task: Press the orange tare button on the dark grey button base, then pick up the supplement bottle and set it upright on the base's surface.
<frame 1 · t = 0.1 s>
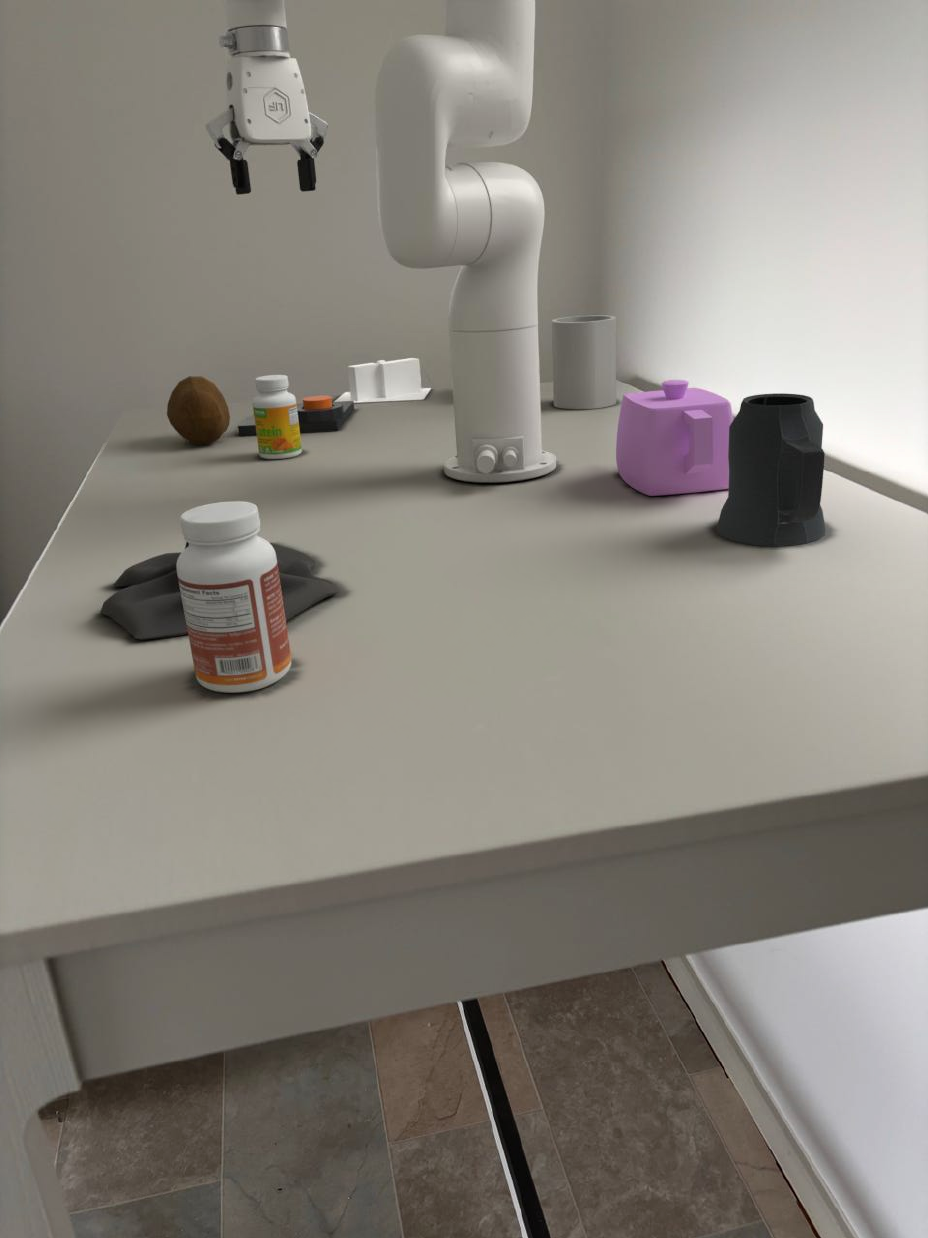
hand: (276, 192, 137), 31 cm above the table, tool pointing down, fingers open, 9 cm apart
tare button: (317, 403, 144), point 3 cm above the table, slide at 0.1 cm
supplement bottle: (281, 456, 129), on the table
potato: (202, 442, 141), on the table
pill bottle: (245, 678, 66), on the table
teapot: (672, 481, 106), on the table
mug: (776, 536, 87), on the table
dark grey button base: (299, 422, 150), on the table
cup: (585, 404, 150), on the table
napkin holder: (383, 396, 168), on the table
cloth: (223, 591, 83), on the table
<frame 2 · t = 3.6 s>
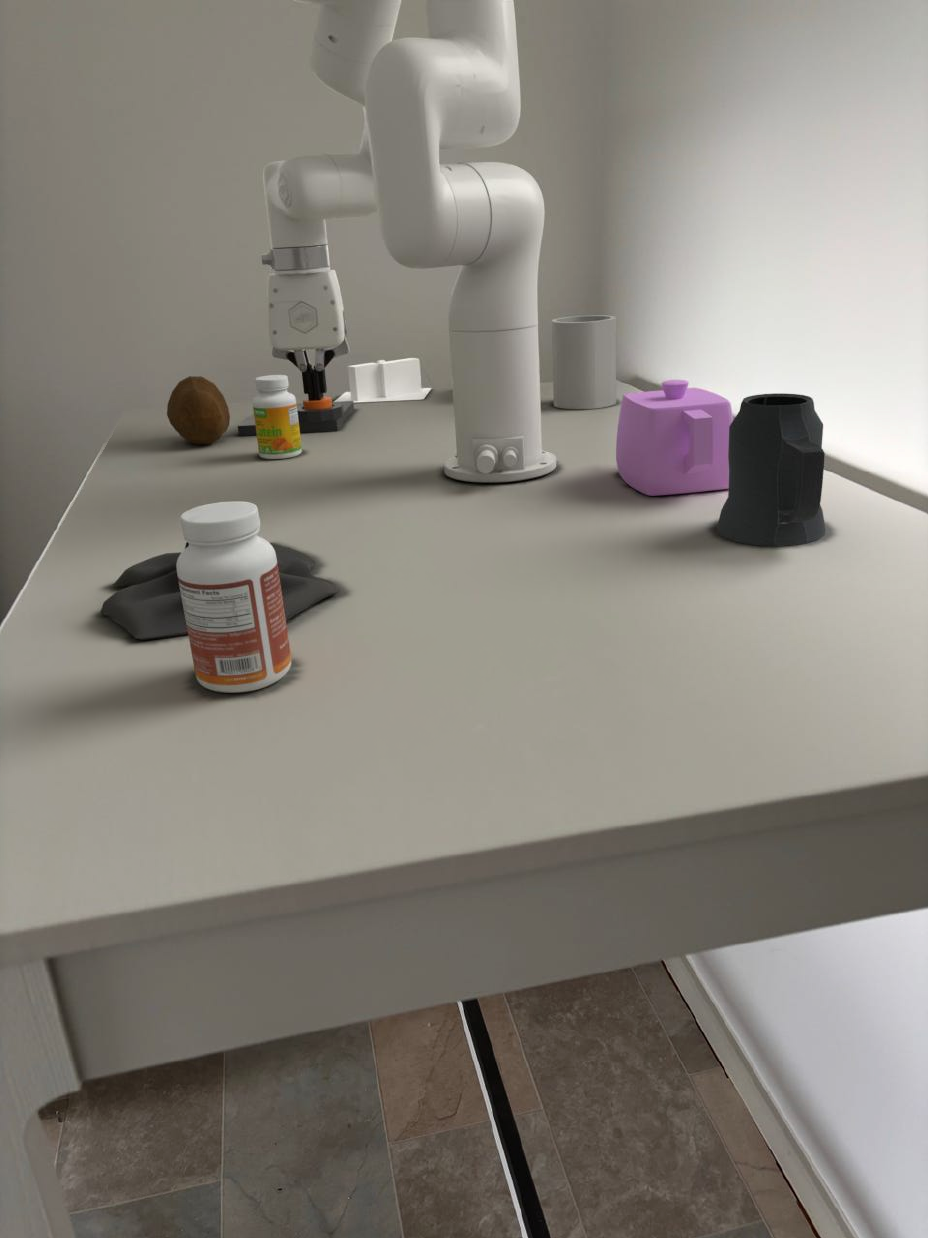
hand: (316, 398, 144), 4 cm above the table, tool pointing down, fingers closed
tare button: (317, 404, 144), point 3 cm above the table, slide at 0.0 cm, touching gripper
everything else where it was.
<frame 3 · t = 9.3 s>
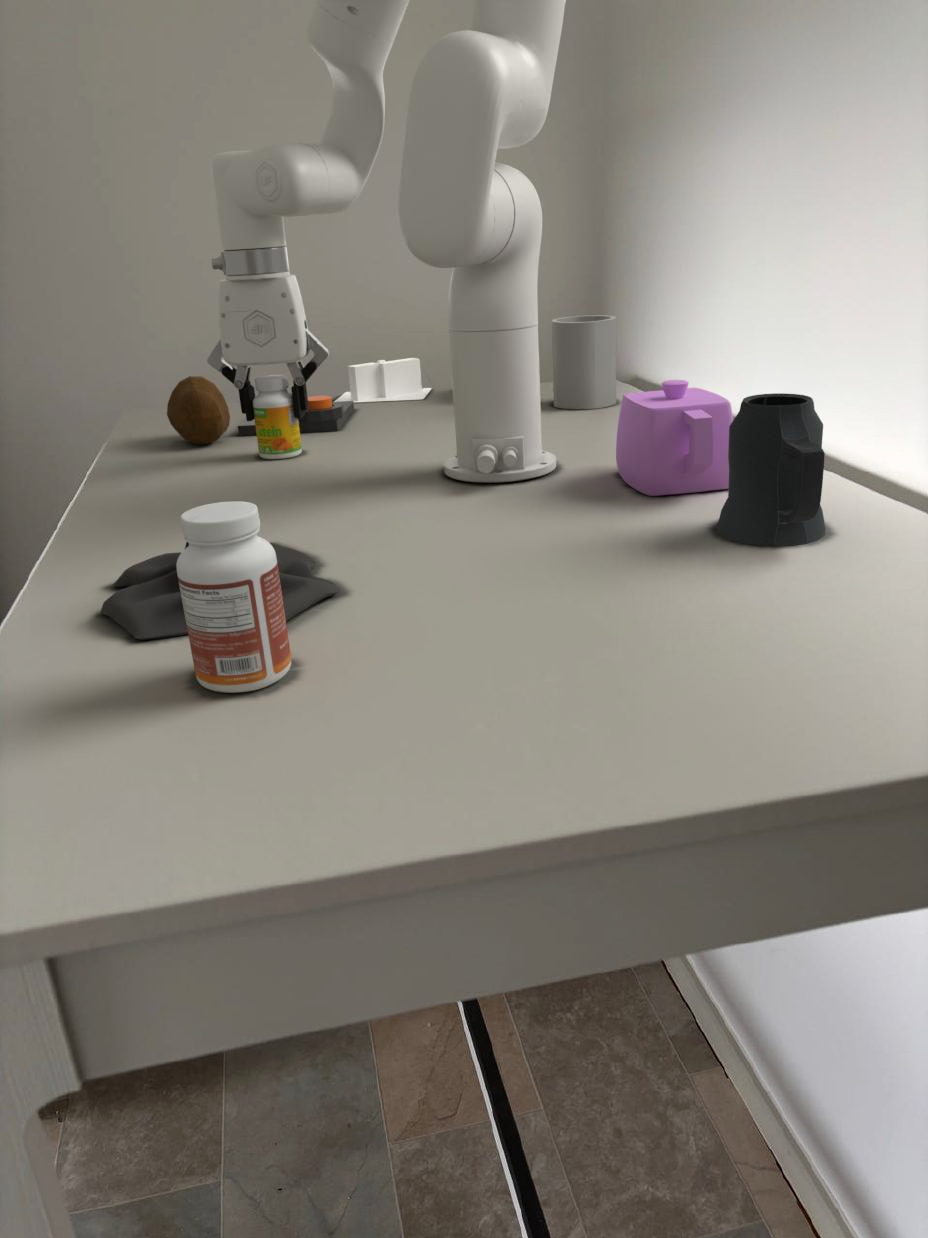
hand: (276, 416, 127), 5 cm above the table, tool pointing down, fingers closed on supplement bottle, 5 cm apart
tare button: (317, 403, 144), point 3 cm above the table, slide at 0.1 cm
supplement bottle: (281, 456, 129), on the table, touching gripper
everything else where it was.
when the fingers open (6 cm above the table, at t = 16.6 s): supplement bottle stays where it is, resting on dark grey button base.
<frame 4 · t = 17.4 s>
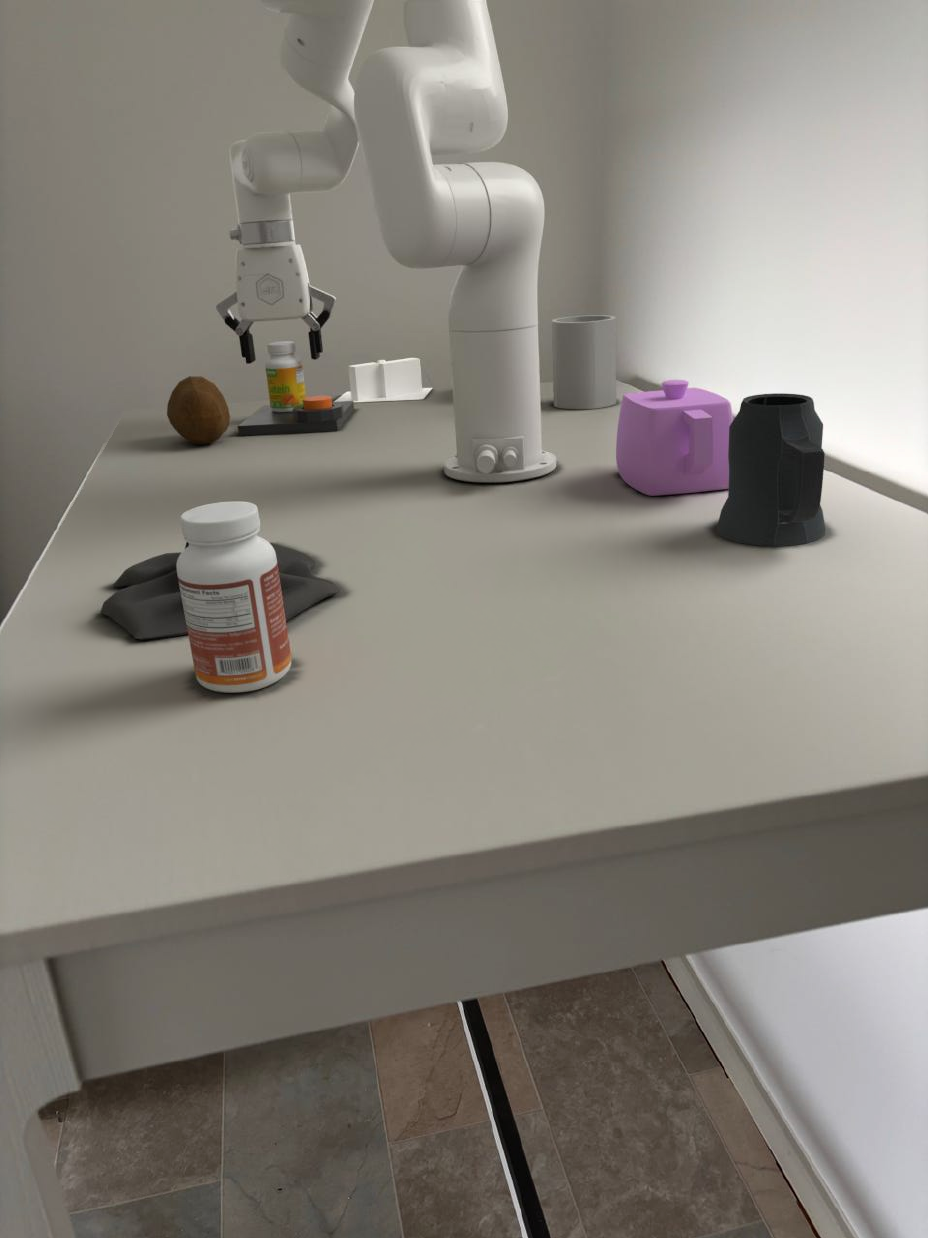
hand: (283, 360, 149), 9 cm above the table, tool pointing down, fingers open, 9 cm apart
supplement bottle: (289, 411, 152), point 1 cm above the table, touching dark grey button base
everything else where it was.
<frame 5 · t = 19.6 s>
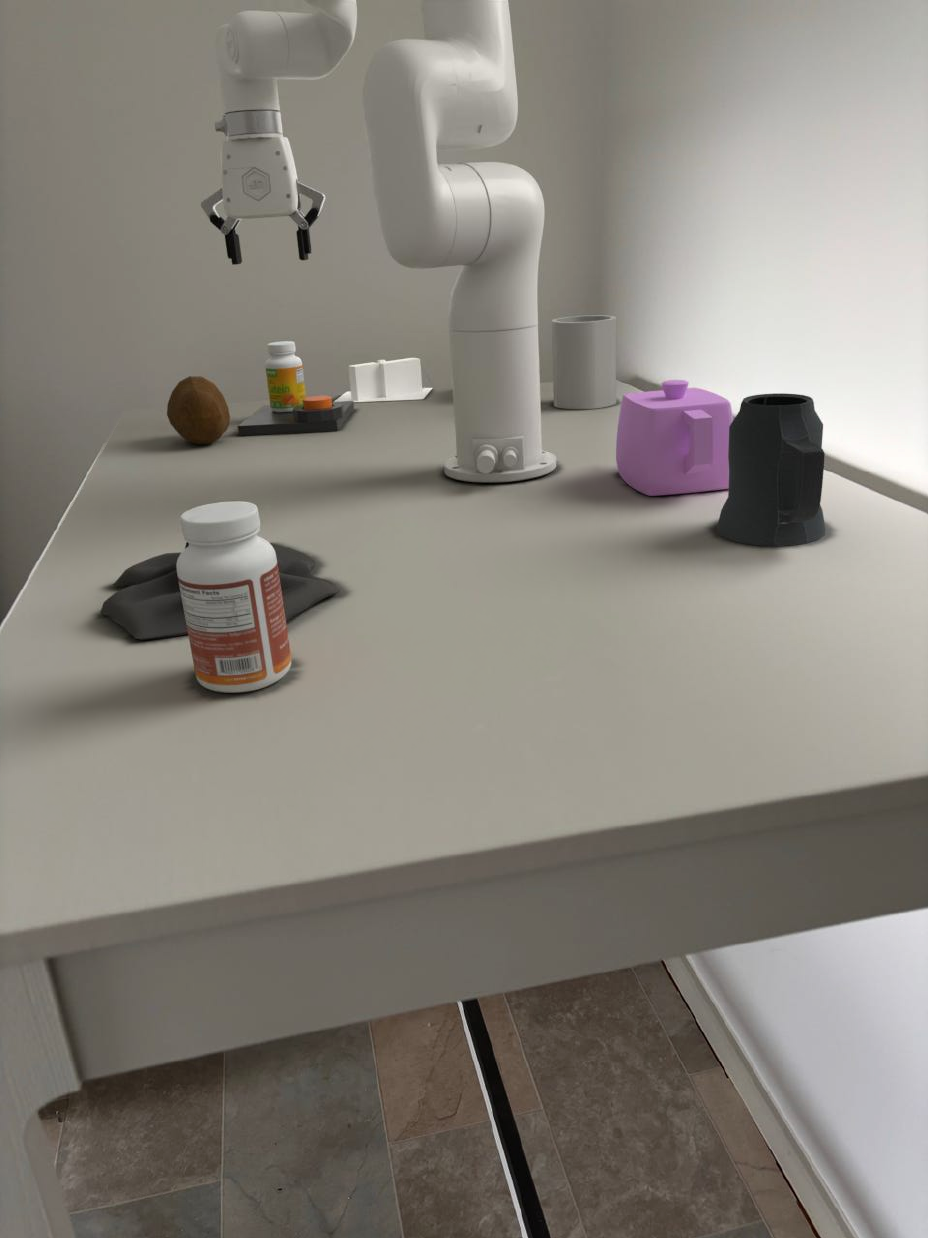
hand: (270, 261, 144), 22 cm above the table, tool pointing down, fingers open, 9 cm apart
nothing on the table moved.
at the end: tare button pushed in 0.9 cm at the most during the clip, back to where it started at the end; supplement bottle inside the target area on the dark grey button base (2.8 cm from its centre), point 1.2 cm above the dark grey button base's base; supplement bottle touching dark grey button base; supplement bottle tilted 0° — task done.
